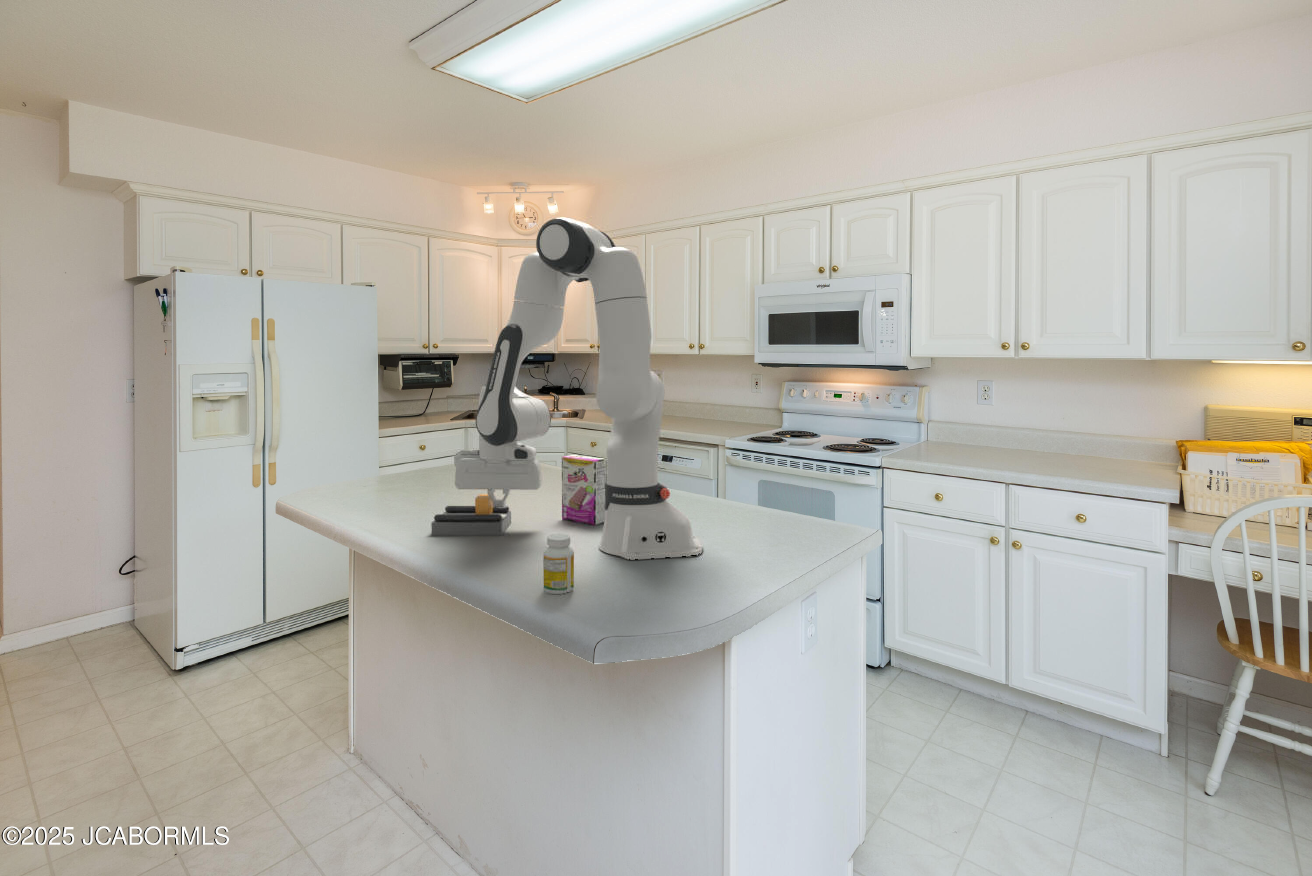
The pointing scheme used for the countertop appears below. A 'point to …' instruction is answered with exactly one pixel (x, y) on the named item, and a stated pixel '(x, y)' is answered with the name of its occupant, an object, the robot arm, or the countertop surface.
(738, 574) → the countertop surface
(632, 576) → the countertop surface
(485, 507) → the block
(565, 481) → the candy bar box
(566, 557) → the supplement bottle
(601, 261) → the robot arm
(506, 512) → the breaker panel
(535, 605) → the countertop surface
